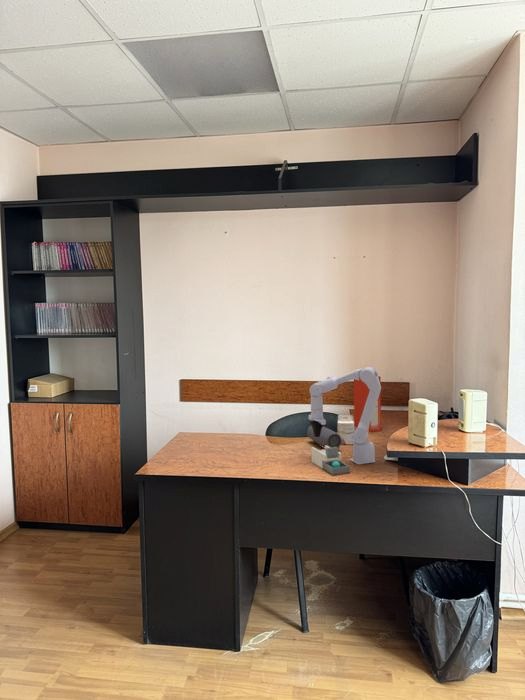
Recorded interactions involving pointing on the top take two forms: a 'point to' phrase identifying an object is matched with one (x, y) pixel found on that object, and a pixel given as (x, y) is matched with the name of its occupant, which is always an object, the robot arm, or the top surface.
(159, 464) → the top surface
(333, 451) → the grey rectangular block
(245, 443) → the top surface
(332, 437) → the bluetooth speaker
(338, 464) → the ball
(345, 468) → the grey open tray
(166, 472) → the top surface
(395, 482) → the top surface
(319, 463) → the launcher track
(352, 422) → the ink cartridge box
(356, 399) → the tall red panel
